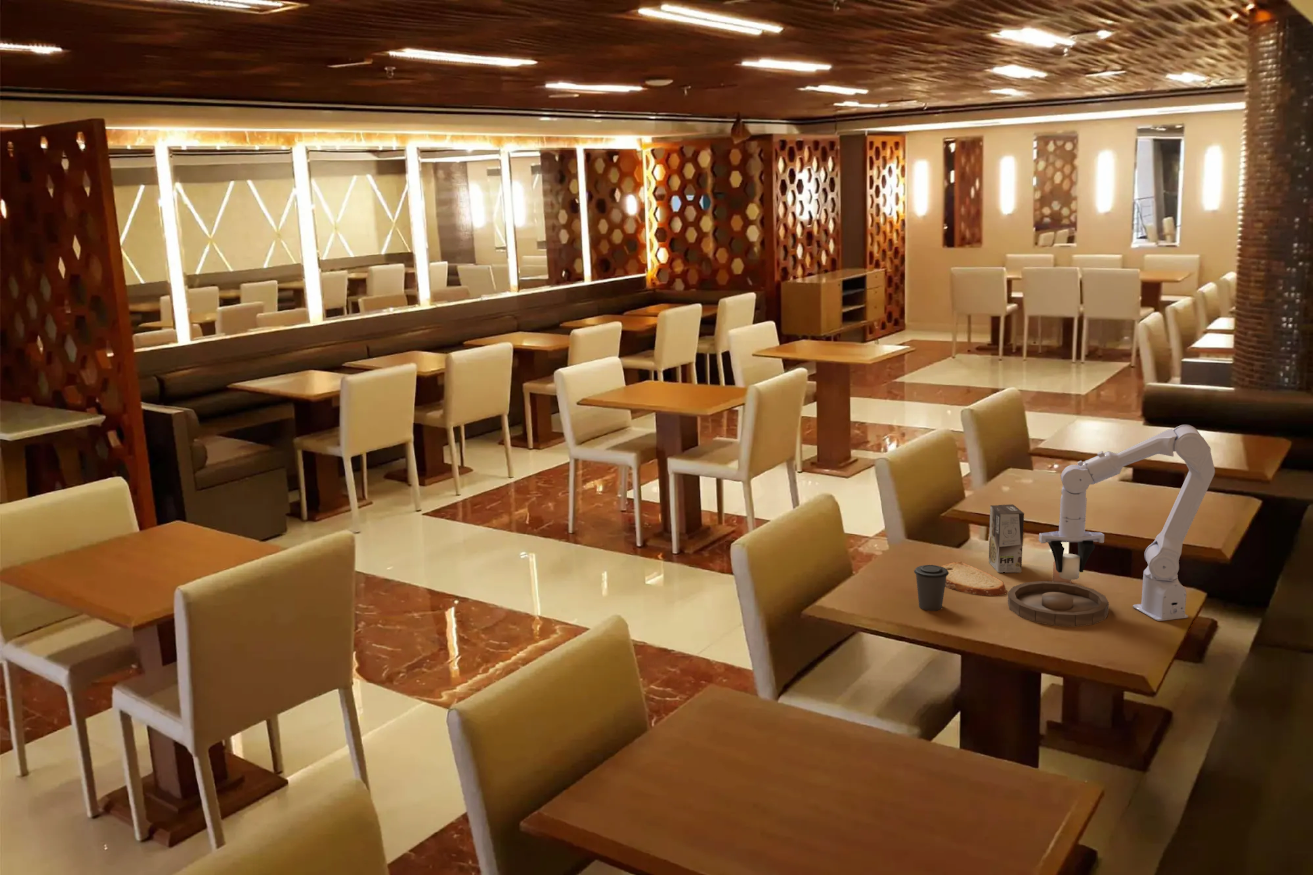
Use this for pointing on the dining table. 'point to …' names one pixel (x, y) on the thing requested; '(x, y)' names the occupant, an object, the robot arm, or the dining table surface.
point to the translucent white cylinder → (1070, 567)
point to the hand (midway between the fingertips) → (1069, 570)
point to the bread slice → (972, 580)
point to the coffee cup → (931, 586)
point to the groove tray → (1058, 603)
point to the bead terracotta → (1056, 576)
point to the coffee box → (1006, 538)
